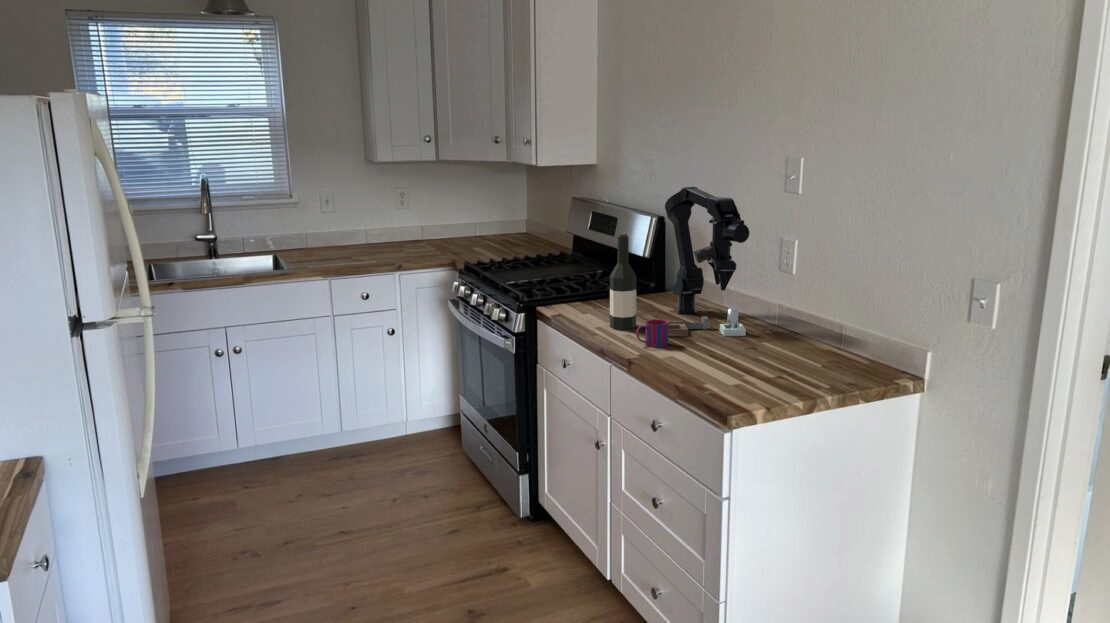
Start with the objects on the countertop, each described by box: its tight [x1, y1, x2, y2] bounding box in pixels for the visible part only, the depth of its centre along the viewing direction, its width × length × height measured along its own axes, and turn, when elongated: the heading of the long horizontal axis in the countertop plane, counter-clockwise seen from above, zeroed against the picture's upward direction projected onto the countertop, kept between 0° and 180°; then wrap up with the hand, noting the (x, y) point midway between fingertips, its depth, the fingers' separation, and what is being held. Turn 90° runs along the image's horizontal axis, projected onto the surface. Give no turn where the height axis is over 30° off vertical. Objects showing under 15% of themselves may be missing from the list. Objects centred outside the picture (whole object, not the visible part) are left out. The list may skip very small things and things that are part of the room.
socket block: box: [667, 320, 689, 337], centre depth 254 cm, size 11×8×2 cm
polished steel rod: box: [726, 307, 739, 329], centre depth 250 cm, size 3×3×7 cm
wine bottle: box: [609, 232, 637, 331], centre depth 258 cm, size 8×8×30 cm
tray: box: [719, 323, 747, 337], centre depth 251 cm, size 7×7×2 cm
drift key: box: [670, 315, 709, 330], centre depth 257 cm, size 3×12×3 cm, turn 89°
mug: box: [635, 318, 669, 348], centre depth 240 cm, size 7×10×7 cm
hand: (720, 287), depth 260 cm, fingers open, 9 cm apart
